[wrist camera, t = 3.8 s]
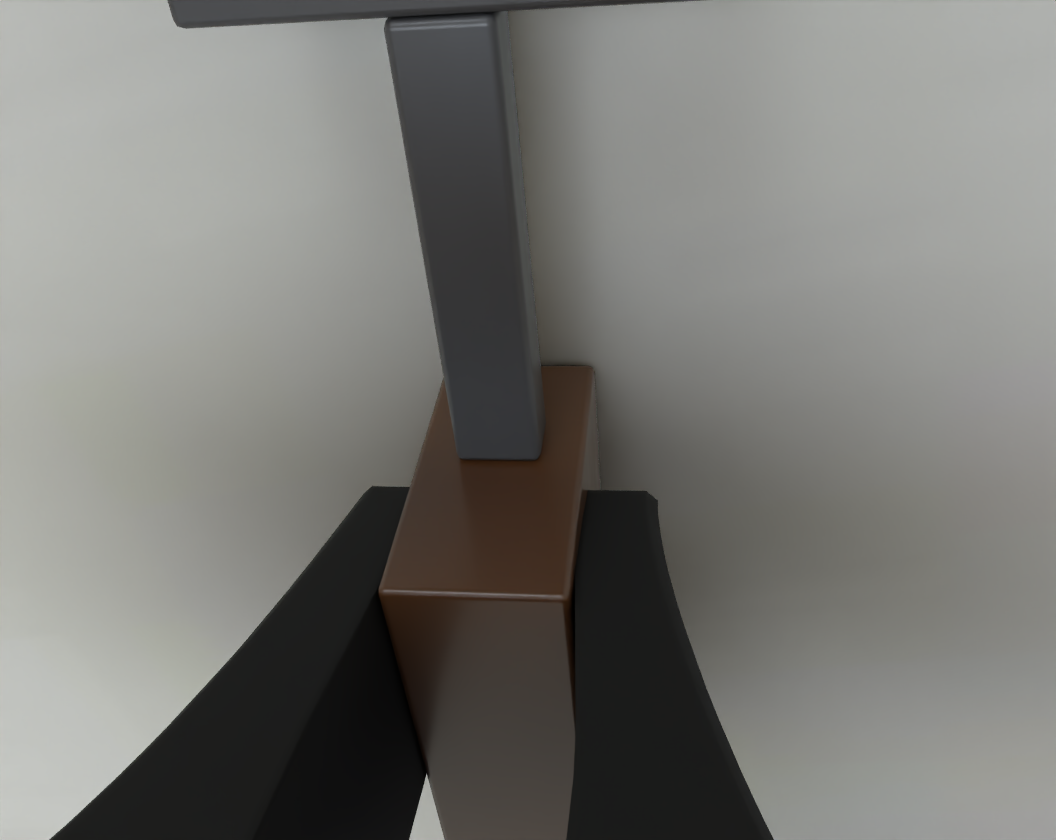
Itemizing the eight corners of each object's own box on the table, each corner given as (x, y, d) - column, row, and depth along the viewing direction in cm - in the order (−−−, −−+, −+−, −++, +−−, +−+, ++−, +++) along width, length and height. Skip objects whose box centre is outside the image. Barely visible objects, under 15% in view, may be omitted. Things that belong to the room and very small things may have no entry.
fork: (688, 749, 14) (692, 980, 12) (438, 735, 15) (391, 954, 12) (734, -643, 6) (783, -861, 3) (119, -552, 6) (-255, -680, 4)
